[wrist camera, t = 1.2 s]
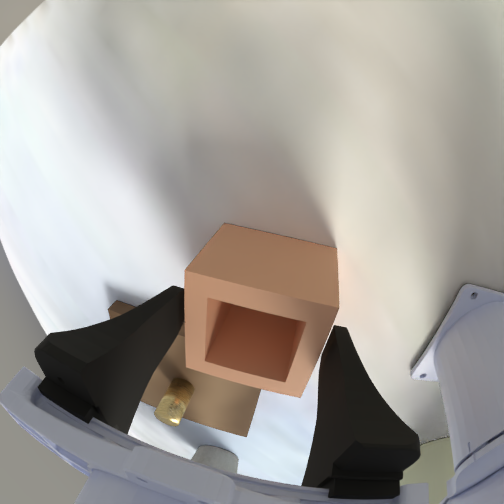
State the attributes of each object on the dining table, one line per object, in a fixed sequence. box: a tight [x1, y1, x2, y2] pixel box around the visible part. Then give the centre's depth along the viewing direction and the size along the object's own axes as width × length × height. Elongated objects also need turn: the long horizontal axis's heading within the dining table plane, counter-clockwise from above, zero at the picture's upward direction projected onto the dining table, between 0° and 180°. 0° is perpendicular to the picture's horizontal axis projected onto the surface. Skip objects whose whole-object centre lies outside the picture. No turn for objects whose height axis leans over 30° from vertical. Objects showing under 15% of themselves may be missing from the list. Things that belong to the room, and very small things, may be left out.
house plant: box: [191, 445, 239, 474], centre depth 23 cm, size 14×14×16 cm
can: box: [400, 437, 455, 504], centre depth 17 cm, size 9×9×12 cm
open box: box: [184, 223, 339, 398], centre depth 14 cm, size 6×6×5 cm
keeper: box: [108, 300, 261, 437], centre depth 21 cm, size 12×12×5 cm
